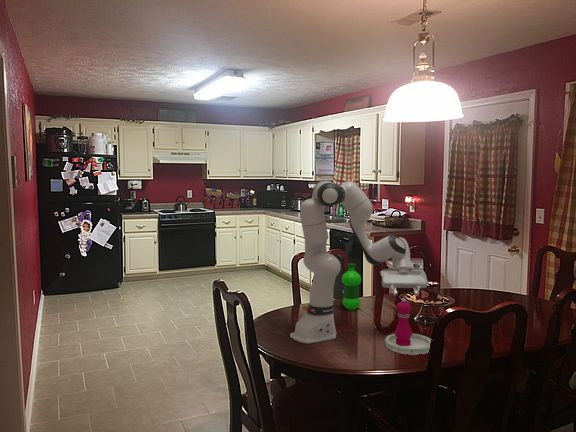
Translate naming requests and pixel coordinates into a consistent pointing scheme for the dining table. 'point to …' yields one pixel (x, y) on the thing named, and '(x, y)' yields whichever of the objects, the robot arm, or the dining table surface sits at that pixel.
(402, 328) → the pepper mill
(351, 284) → the plastic bottle
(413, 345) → the round dish
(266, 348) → the dining table surface
